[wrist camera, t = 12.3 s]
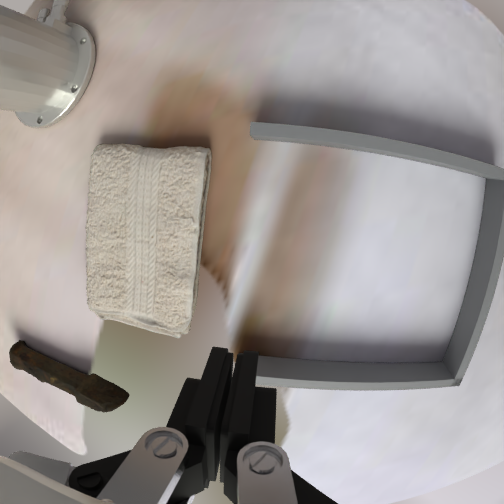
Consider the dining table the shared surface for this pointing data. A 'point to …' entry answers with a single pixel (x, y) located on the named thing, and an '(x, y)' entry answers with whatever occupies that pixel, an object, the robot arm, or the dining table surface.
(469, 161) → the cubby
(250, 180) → the dining table surface
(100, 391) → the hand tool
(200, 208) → the washcloth
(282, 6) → the dining table surface
